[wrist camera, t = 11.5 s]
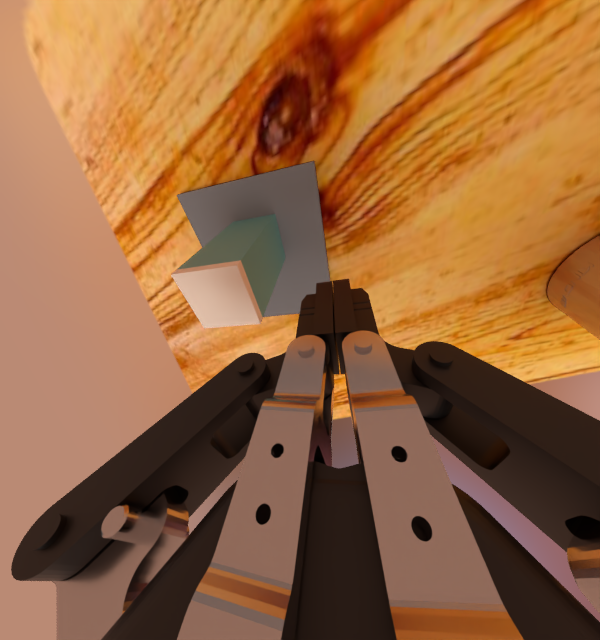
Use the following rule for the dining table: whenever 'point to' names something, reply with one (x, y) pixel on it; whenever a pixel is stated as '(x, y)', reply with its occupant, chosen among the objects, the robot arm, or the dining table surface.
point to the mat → (292, 218)
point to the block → (234, 273)
